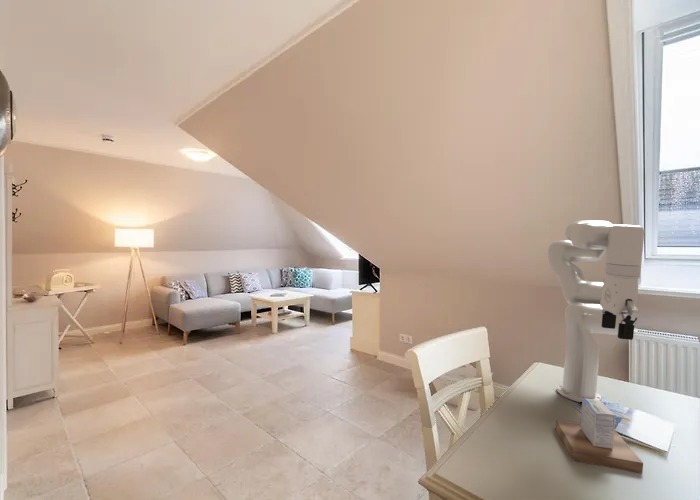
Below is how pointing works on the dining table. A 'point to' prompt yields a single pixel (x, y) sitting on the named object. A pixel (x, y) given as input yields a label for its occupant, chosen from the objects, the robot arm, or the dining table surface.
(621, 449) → the brown wooden block
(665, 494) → the dining table surface
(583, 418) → the medicine box
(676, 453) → the dining table surface
